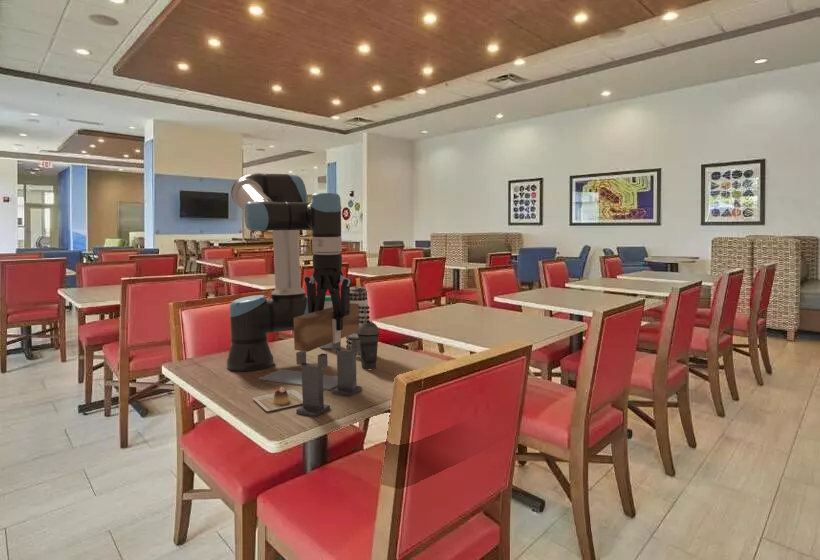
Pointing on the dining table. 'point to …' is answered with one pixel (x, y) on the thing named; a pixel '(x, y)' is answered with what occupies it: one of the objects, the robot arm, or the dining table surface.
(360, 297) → the decorative candle
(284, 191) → the robot arm
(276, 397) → the dessert
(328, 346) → the milk bottle
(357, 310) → the rail
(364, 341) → the beverage cup
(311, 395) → the standards
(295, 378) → the mat
